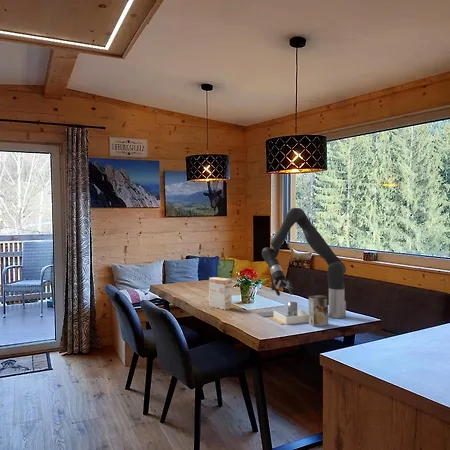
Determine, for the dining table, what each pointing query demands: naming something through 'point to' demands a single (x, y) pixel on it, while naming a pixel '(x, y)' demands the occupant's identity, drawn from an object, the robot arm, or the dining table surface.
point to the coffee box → (318, 310)
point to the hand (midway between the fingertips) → (285, 294)
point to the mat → (266, 314)
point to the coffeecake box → (220, 293)
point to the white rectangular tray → (291, 318)
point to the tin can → (292, 309)
